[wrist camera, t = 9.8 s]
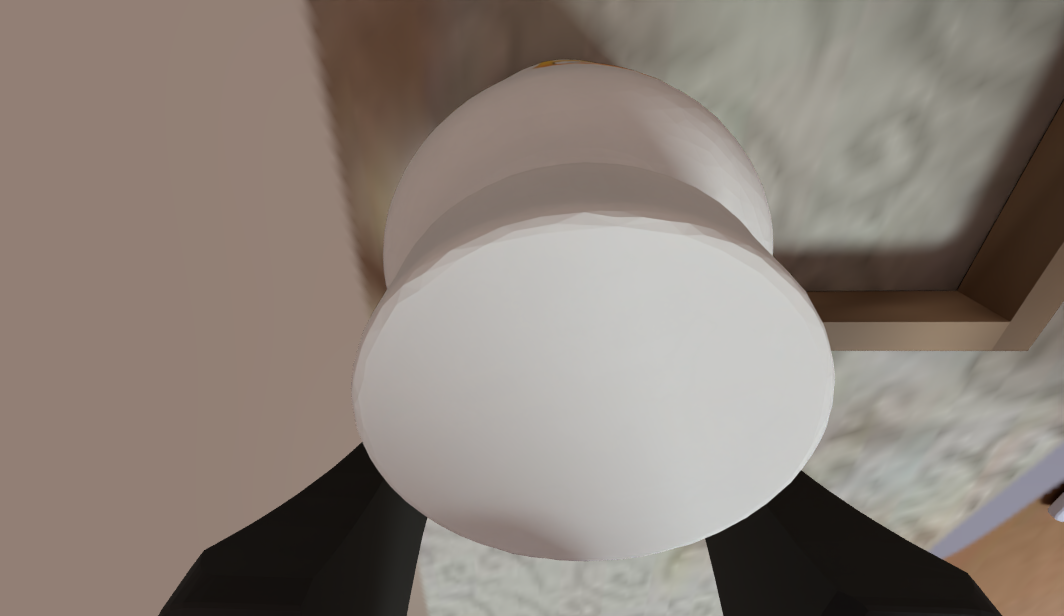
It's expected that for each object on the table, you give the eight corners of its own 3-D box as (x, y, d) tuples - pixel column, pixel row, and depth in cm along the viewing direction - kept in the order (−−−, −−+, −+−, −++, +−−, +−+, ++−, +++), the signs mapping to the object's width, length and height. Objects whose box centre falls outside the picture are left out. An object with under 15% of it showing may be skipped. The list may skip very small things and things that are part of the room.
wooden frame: (1226, -99, 9) (1375, -133, 7) (973, 317, 14) (1027, 350, 12) (723, -74, 9) (759, -101, 7) (662, 318, 14) (676, 350, 13)
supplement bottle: (511, 279, 14) (448, 627, 5) (432, 110, 11) (83, 271, 3) (678, 223, 12) (928, 558, 4) (631, 20, 10) (1027, -160, 2)
